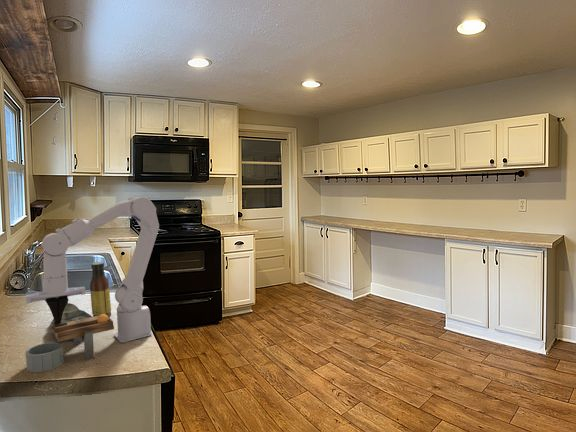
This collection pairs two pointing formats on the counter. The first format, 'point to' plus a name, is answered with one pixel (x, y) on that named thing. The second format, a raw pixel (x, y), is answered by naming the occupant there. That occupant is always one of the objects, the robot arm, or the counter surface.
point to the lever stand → (86, 343)
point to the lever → (79, 328)
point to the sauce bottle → (99, 291)
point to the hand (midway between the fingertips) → (57, 323)
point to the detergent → (72, 314)
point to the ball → (102, 318)
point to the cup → (44, 357)
